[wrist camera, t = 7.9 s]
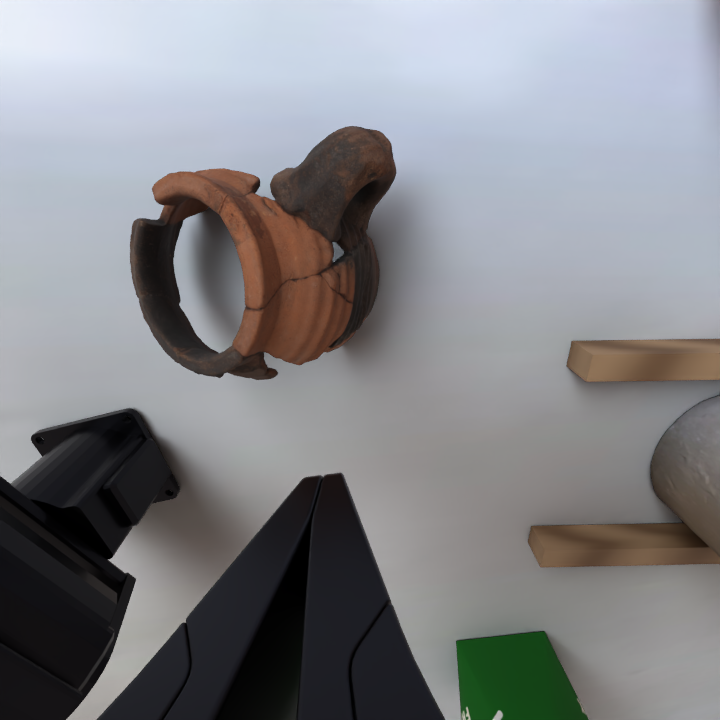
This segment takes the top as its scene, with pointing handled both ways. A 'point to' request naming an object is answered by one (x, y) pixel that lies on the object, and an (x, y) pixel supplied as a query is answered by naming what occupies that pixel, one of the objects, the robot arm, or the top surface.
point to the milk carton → (514, 680)
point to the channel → (631, 539)
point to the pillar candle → (692, 470)
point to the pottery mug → (273, 254)
